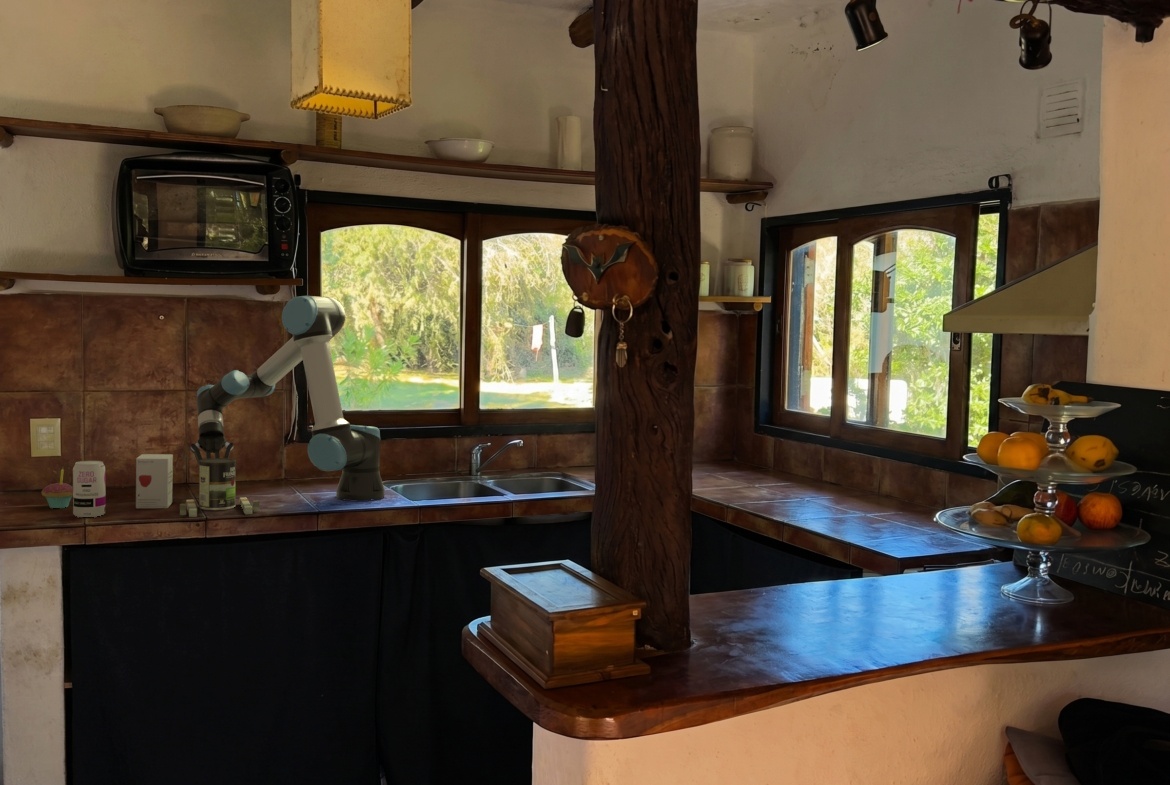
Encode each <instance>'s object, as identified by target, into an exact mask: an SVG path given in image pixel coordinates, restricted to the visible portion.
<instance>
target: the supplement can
mask: <svg viewBox="0 0 1170 785" xmlns="http://www.w3.org/2000/svg"><path fill="white" fill-rule="evenodd" d="M72 487H73V496H72V514H73V515H74V517H76V516H77V517H76V518H79V517H94V518H98V517H97V516H100V517H102V516H101V515H103V516H104V514H106V510H107V509H106V506H107V505H106V503H107V502H106V497H107V496H106V465H105V464H104V461H101V460H82V461H81V460H80V461H76V462H75V464H74V466H73V468H72Z"/></svg>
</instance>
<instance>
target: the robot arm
mask: <svg viewBox="0 0 1170 785" xmlns="http://www.w3.org/2000/svg"><path fill="white" fill-rule="evenodd" d="M345 311H346V310H345V308H344V307H343V304H341V303H340V302H339V301H338V300H337V299H335V298H333V297H330V296H315V295H314V296H313V295H301V296H294V297H293V298H291V299H289V300H288V301H287V303H286V304H285V306H284V307H283V310H282V313H281V322H282V326H283V328H284V329H285V330H286V331H287V332H288V333H289V334H291V335H292V337H291V338H290V339H289V340H288V341H286V342H285V343H284V344H283V345H282V346H281V347H280V348H278V350H277V351H276V352H274V354H272V356H270V357H269V358H268V359H266V361H264V363H262V364H261V365H260V366H259V367H258V368H257V369H256V370H255V371H254V372H252V373H251V374H245V373H244V372H242V371H239V369H236V370H235V369H234V370H232V371H230V372H228V373H227V374H225V375H224V376H223V377H222V378H221V379H220V380H219V381H217V382H216V383H215V384H206V385H203V386H201V387H199V388H198V390H197V391H196V407H197V408H196V409H197V424H198V425H197V427H198V440H197V442H196V443H194V442H193V443H191V444H190V451H191V452H192V453H193V454H194V457H195V459H196V462H197V465H198V468H199V469H200V464H199V461H200V460H202V459H203V456H202V454H201V452H200V449H201V450H202V451H203V452H204V453H205V459H209V458H212V455H211V454H212V453H213V454H214V458H221V457H220V452H221V450H223V448H225V452H224V457H223V458H229V459H230V454H231V452H232V451H233V450H234V446H235V445H234V442H228V441H227V439H226V438H225V428H224V416H223V415H224V414H223V409H225V408H226V407H228V405H229V404H231V403H232V402H233V401H235V400H239V399H240V400H241V399H248V398H249V399H250V398H252V399H253V398H263V397H267V396H270V395H272V394H273V393H274V390H275V388H276V384H277V383H278V382H280V381H281V380H282V379H283V378H284V377H285V376H286V375H287V374H288V373H290V371H292V370H293V369H294V368H295V367H297V365H298V364H300V363H301V362H302V361H303V362H302V364H303V367H304V373H305V378H306V383H307V390H308V393H309V399H310V403H311V407H312V413H313V418H314V425H313V427H312V429H311V435H312V436H311V439H310V440H309V443H308V444H307V455H308V458H309V460H310V462H311V463H312V465H313V466H314V467H316V468H317V469H318V470H320V471H324V472H337V471H342V472H341V476H340V479H339V481H338V484H337V487H336V490H335V491H336V492H335V493H336V494H335V495H336V496H335V497H336V498H337V499H339V498H340V499H339V500H343V499H345V500H344V501H351V500H368V501H372V500H371V499H377V500H380V499H379V498H381V499H383V498H382V497H384V496H385V495H386V493H385V492H386V491H385V487H384V483H383V480H382V477H381V474H380V460H381V459H380V458H381V457H380V456H381V454H380V453H381V452H380V451H381V432H380V431H381V430H380V429H379V428H378V427H376V426H369V425H368V426H367V425H358V424H357V425H355V424H350V422H349V421H347V420H346V419H345V418H344V414H343V408H342V404H341V398H340V394H339V388H338V382H337V379H336V374H335V369H334V368H335V367H334V362H333V358H332V352H331V348H330V341H331V340H332V339H333V338H334V337H336V335H337V334H338V333H339V332H340V331H341V329H342V328H343V326H344V324H345V322H346V312H345ZM384 498H385V497H384Z"/></svg>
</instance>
